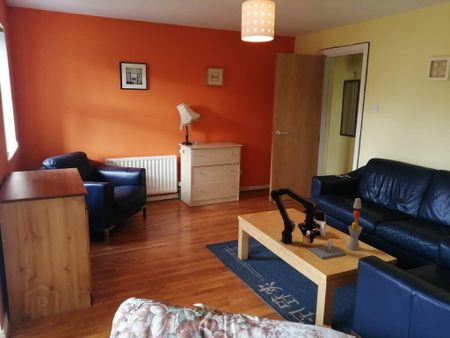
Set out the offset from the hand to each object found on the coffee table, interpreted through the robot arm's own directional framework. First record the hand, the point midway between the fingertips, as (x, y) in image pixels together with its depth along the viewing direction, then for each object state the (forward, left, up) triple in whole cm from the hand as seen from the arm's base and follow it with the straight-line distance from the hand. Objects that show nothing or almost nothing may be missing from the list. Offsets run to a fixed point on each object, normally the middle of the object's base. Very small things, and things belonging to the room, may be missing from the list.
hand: (308, 241), depth 240 cm
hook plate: (+6, -13, -4) cm, 15 cm away
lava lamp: (+28, -13, -4) cm, 31 cm away
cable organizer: (+18, +17, -4) cm, 25 cm away
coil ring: (0, 0, -1) cm, 1 cm away
